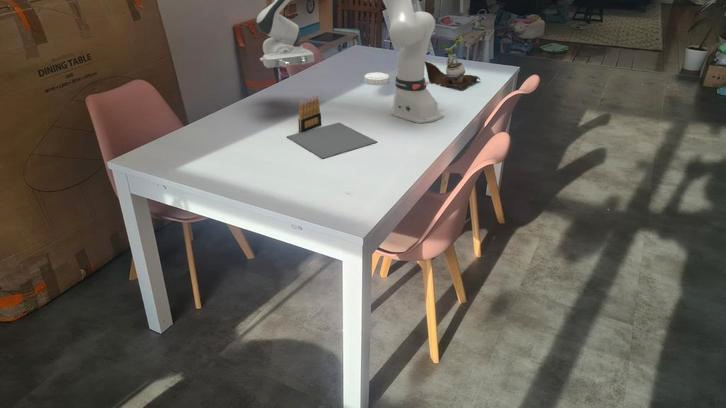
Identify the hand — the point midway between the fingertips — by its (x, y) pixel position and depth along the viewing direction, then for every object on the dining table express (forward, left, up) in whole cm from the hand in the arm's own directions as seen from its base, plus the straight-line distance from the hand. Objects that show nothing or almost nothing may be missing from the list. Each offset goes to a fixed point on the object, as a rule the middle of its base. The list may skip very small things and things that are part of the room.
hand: (295, 63), depth 203 cm
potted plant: (-3, -86, -22) cm, 89 cm away
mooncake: (+20, -57, -22) cm, 64 cm away
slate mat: (-27, +2, -22) cm, 35 cm away
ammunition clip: (-12, +2, -22) cm, 25 cm away
